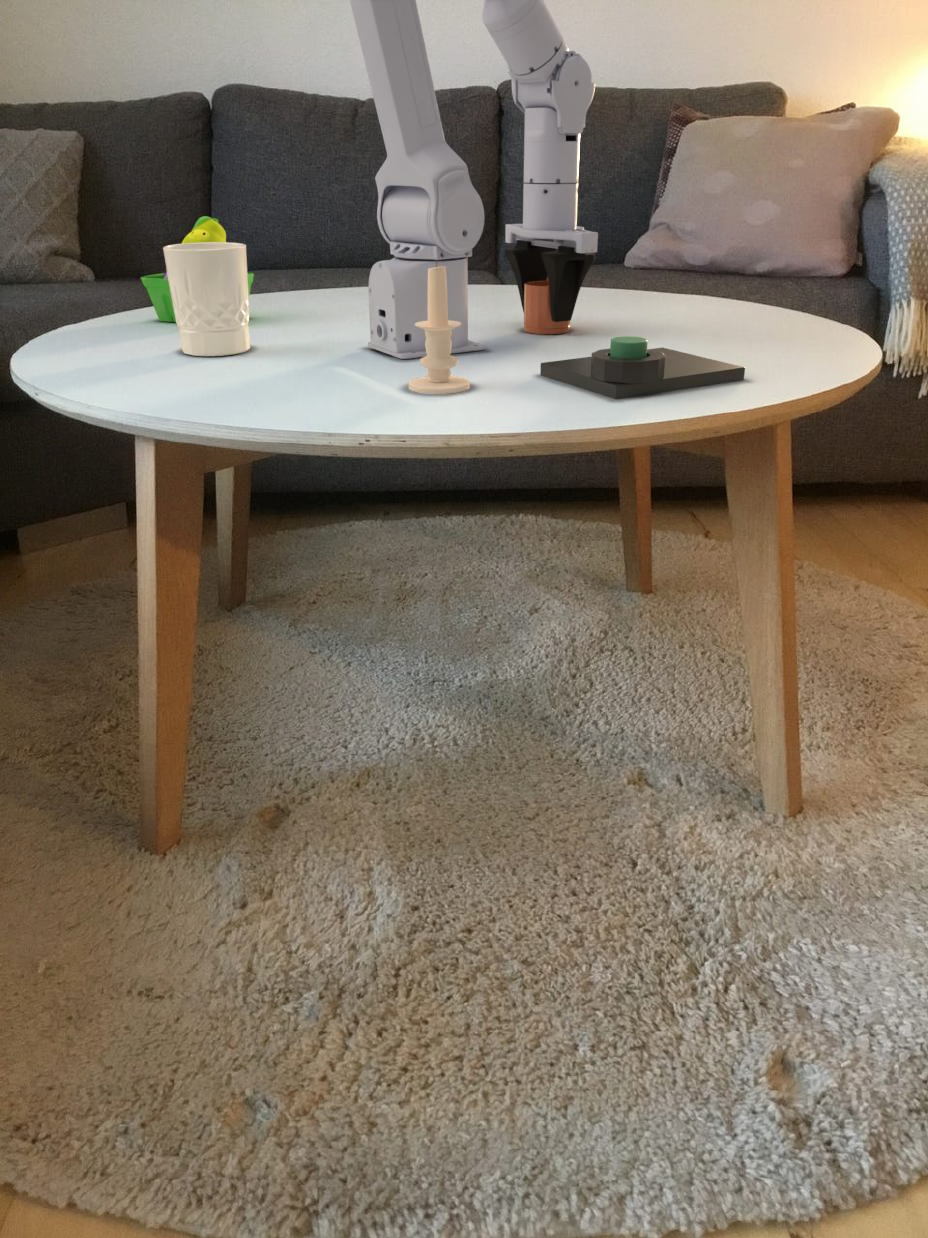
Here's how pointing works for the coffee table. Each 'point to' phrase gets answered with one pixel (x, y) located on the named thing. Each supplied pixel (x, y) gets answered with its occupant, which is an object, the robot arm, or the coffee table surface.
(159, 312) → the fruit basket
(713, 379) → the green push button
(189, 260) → the white cup
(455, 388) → the candle
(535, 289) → the terracotta pot
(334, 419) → the coffee table surface
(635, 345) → the button
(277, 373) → the coffee table surface
